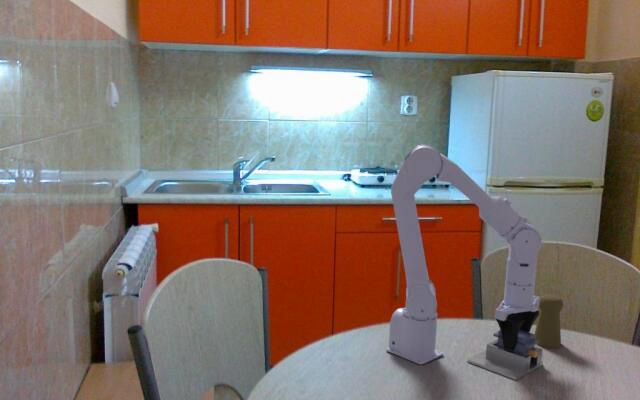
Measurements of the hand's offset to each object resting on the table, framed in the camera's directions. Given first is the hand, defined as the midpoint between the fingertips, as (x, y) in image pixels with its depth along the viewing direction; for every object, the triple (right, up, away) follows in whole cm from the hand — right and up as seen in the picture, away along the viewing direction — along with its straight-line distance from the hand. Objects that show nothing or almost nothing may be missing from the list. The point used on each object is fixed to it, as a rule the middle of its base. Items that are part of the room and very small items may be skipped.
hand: (514, 345), depth 127 cm
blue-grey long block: (0, -2, 0) cm, 2 cm away
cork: (+11, -2, +12) cm, 16 cm away
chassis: (-2, -4, 0) cm, 4 cm away
